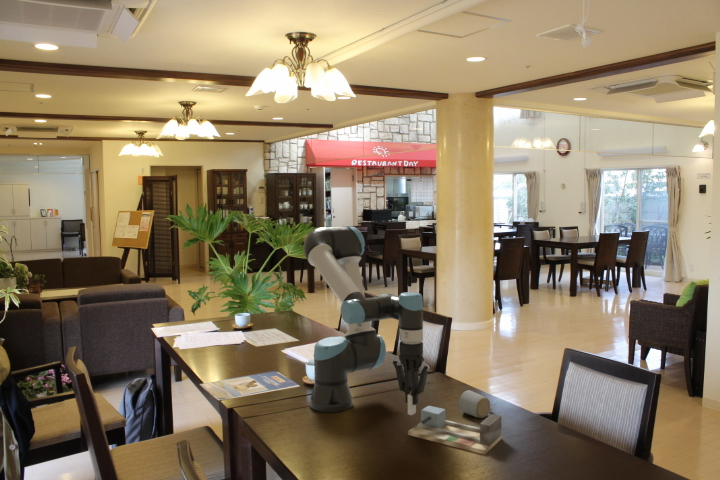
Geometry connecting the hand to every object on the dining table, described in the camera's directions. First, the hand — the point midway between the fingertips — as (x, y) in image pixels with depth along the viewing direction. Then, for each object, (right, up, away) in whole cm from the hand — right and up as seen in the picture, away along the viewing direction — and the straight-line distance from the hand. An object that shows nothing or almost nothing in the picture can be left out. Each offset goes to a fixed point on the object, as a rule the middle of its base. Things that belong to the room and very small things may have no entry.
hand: (411, 413), depth 186 cm
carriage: (+5, -3, -6) cm, 8 cm away
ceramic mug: (+23, -3, +8) cm, 24 cm away
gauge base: (+12, -4, -10) cm, 16 cm away
